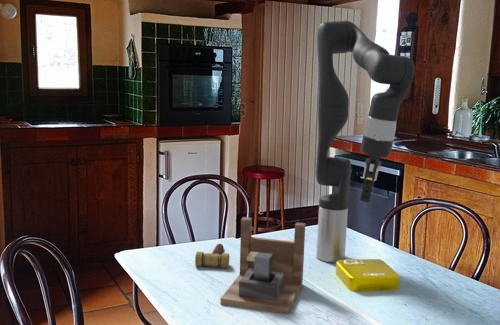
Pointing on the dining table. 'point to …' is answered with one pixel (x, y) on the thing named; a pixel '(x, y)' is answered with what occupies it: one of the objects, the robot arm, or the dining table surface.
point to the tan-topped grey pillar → (261, 266)
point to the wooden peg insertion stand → (283, 272)
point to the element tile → (367, 275)
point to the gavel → (213, 258)
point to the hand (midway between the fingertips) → (365, 196)
